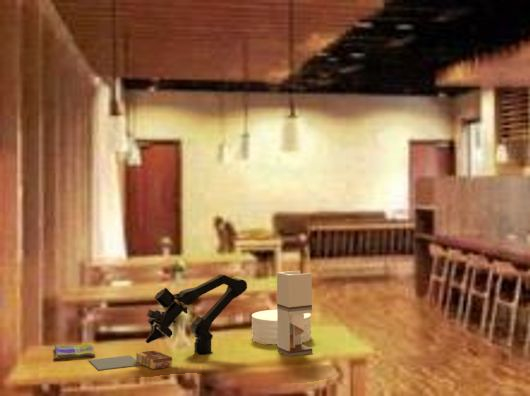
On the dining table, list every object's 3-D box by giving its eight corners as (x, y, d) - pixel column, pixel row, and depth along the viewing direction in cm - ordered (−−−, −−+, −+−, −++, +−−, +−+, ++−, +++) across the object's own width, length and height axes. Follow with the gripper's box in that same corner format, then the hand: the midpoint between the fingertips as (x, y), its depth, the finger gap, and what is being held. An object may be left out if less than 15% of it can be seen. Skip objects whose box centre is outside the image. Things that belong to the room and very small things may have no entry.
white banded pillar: (289, 356, 340) (288, 275, 338) (277, 351, 349) (276, 272, 348) (312, 353, 345) (311, 273, 344) (300, 348, 354) (299, 270, 353)
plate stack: (312, 345, 361) (312, 320, 361) (251, 345, 362) (250, 320, 361) (309, 332, 389) (309, 309, 389) (252, 333, 390) (252, 309, 389)
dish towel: (93, 347, 364) (93, 341, 364) (95, 359, 341) (95, 353, 341) (54, 349, 360) (54, 343, 360) (53, 362, 336) (53, 355, 336)
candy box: (135, 362, 332) (152, 369, 319) (135, 352, 332) (152, 358, 319) (154, 360, 337) (172, 367, 324) (155, 350, 337) (172, 356, 324)
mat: (130, 356, 344) (130, 355, 344) (141, 365, 327) (141, 364, 327) (88, 360, 336) (88, 360, 336) (98, 370, 320) (98, 369, 320)
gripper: (151, 299, 347) (127, 326, 343) (164, 305, 330) (139, 334, 326) (169, 315, 351) (145, 342, 347) (183, 322, 334) (158, 351, 330)
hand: (146, 342), depth 337 cm, fingers closed
